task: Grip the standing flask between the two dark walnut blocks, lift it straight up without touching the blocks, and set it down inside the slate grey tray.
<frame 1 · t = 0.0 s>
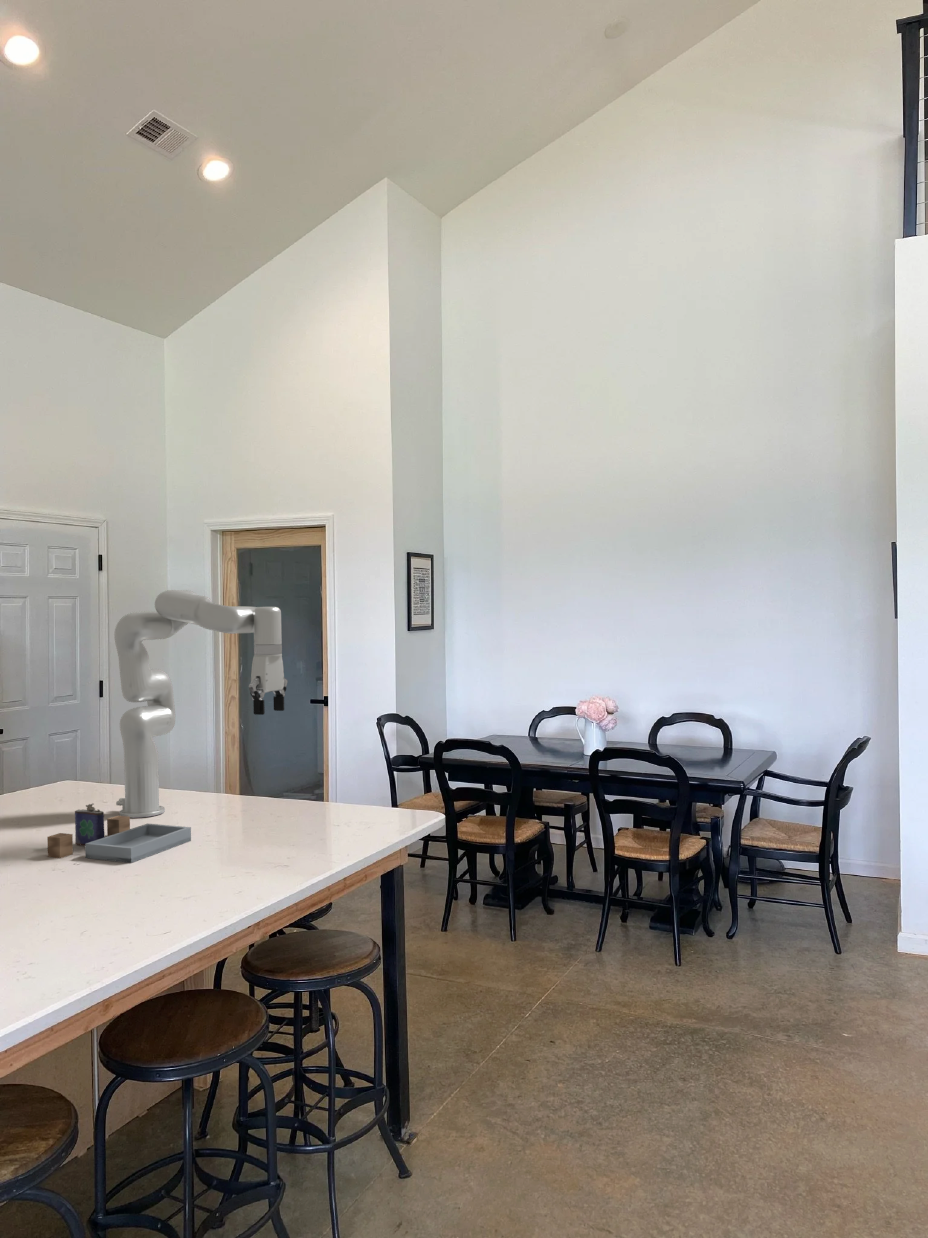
hand: (269, 712, 254), 31 cm above the table, tool pointing down, fingers open, 9 cm apart
tray: (140, 849, 230), on the table
walnut block near: (60, 855, 225), on the table
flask: (90, 846, 235), on the table
walnut block far: (118, 836, 244), on the table
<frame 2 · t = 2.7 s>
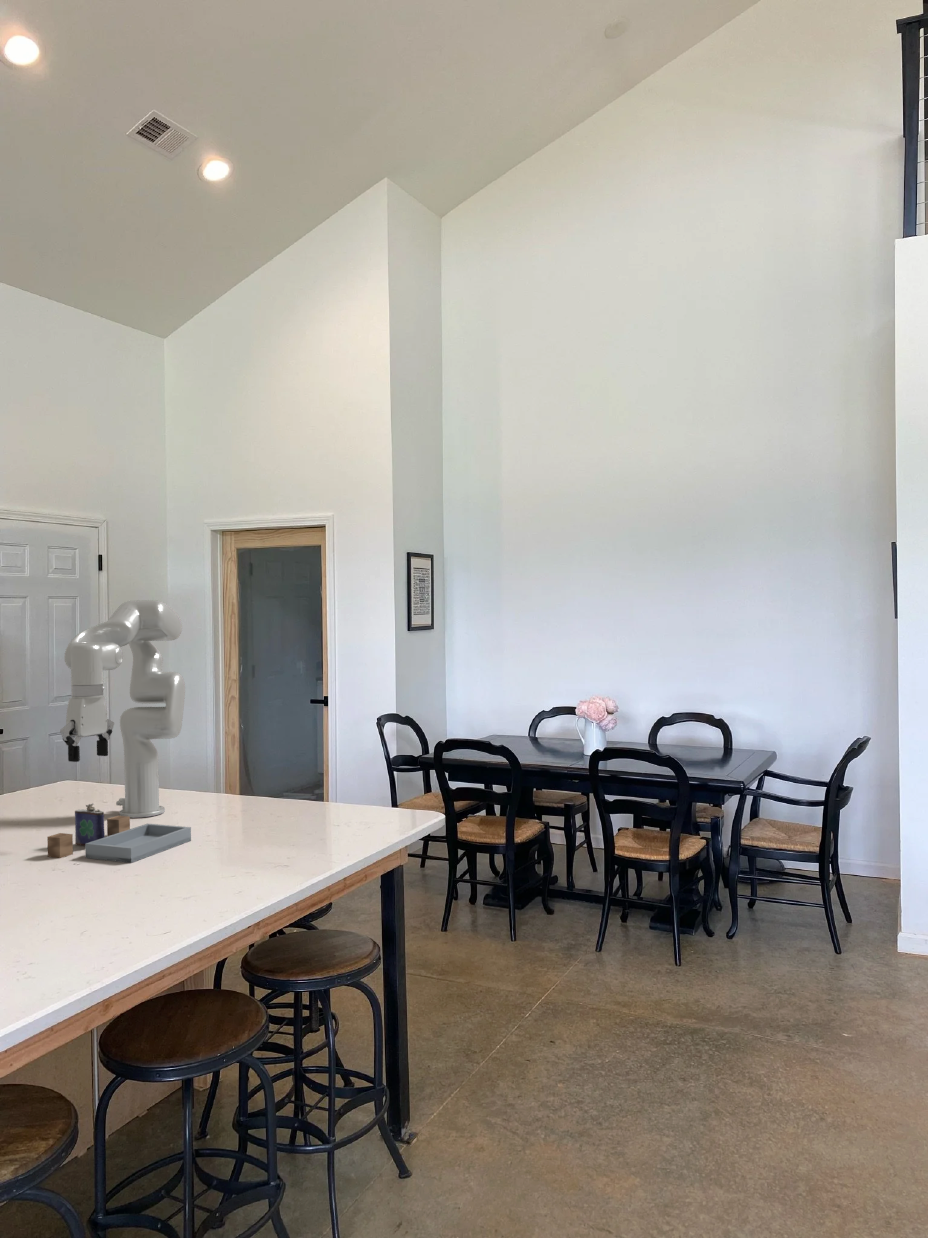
hand: (88, 758, 234), 22 cm above the table, tool pointing down, fingers open, 9 cm apart
nothing on the table moved.
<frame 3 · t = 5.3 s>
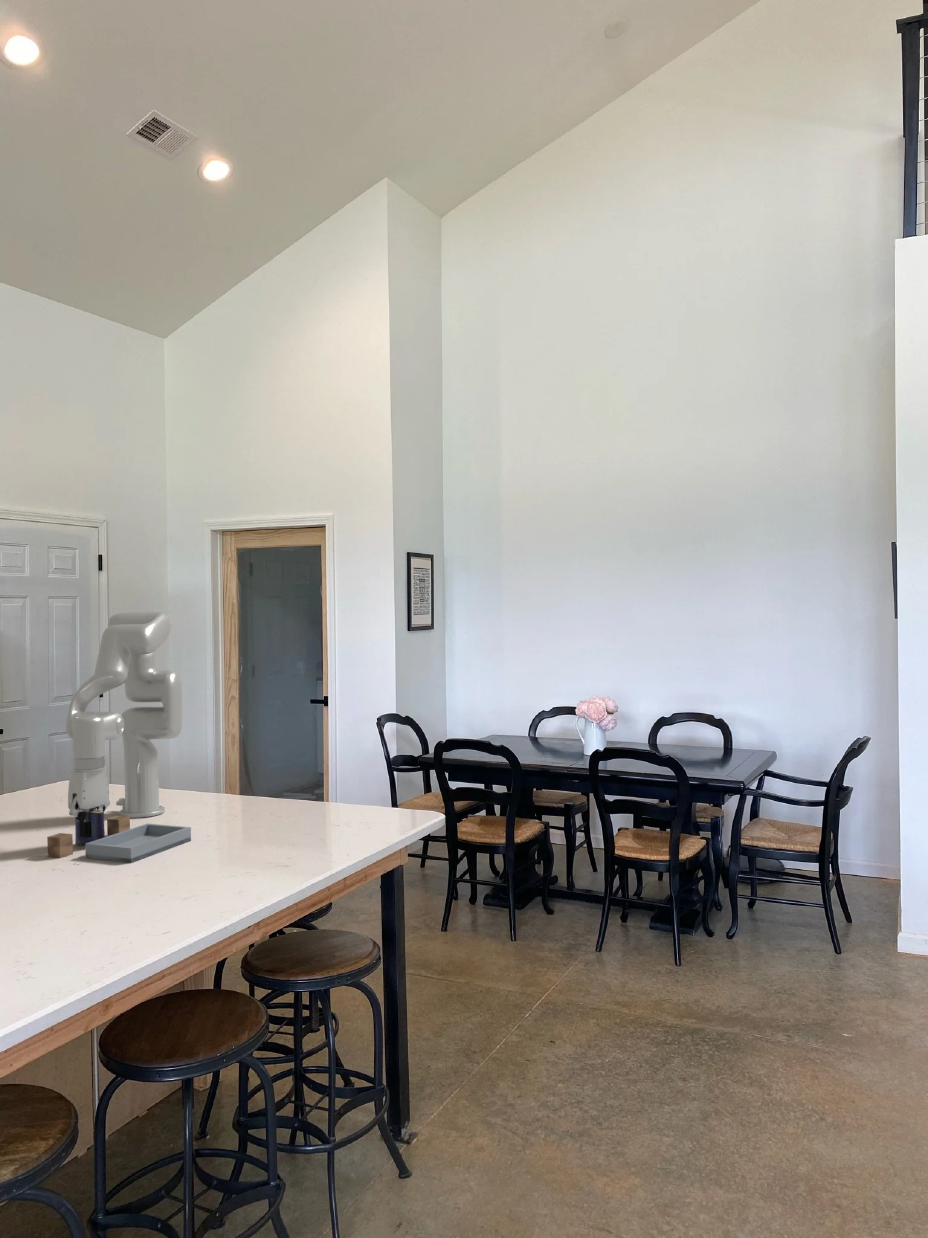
hand: (90, 834, 235), 3 cm above the table, tool pointing down, fingers closed on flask, 2 cm apart
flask: (90, 846, 235), on the table, touching gripper
everything else where it was.
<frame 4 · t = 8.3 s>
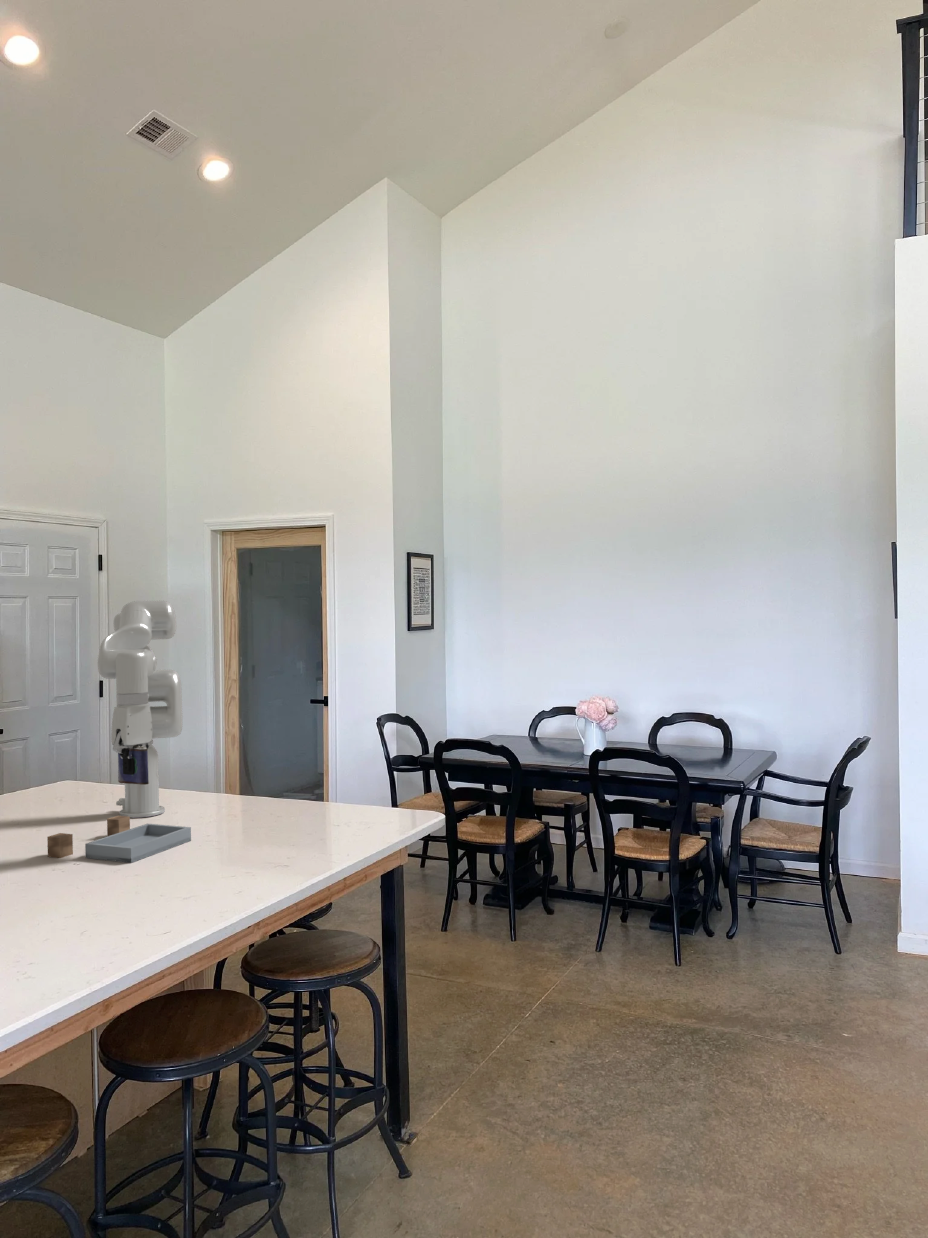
hand: (133, 772, 230), 19 cm above the table, tool pointing down, fingers closed on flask, 2 cm apart
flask: (134, 784, 230), point 16 cm above the table, touching gripper
everything else where it was.
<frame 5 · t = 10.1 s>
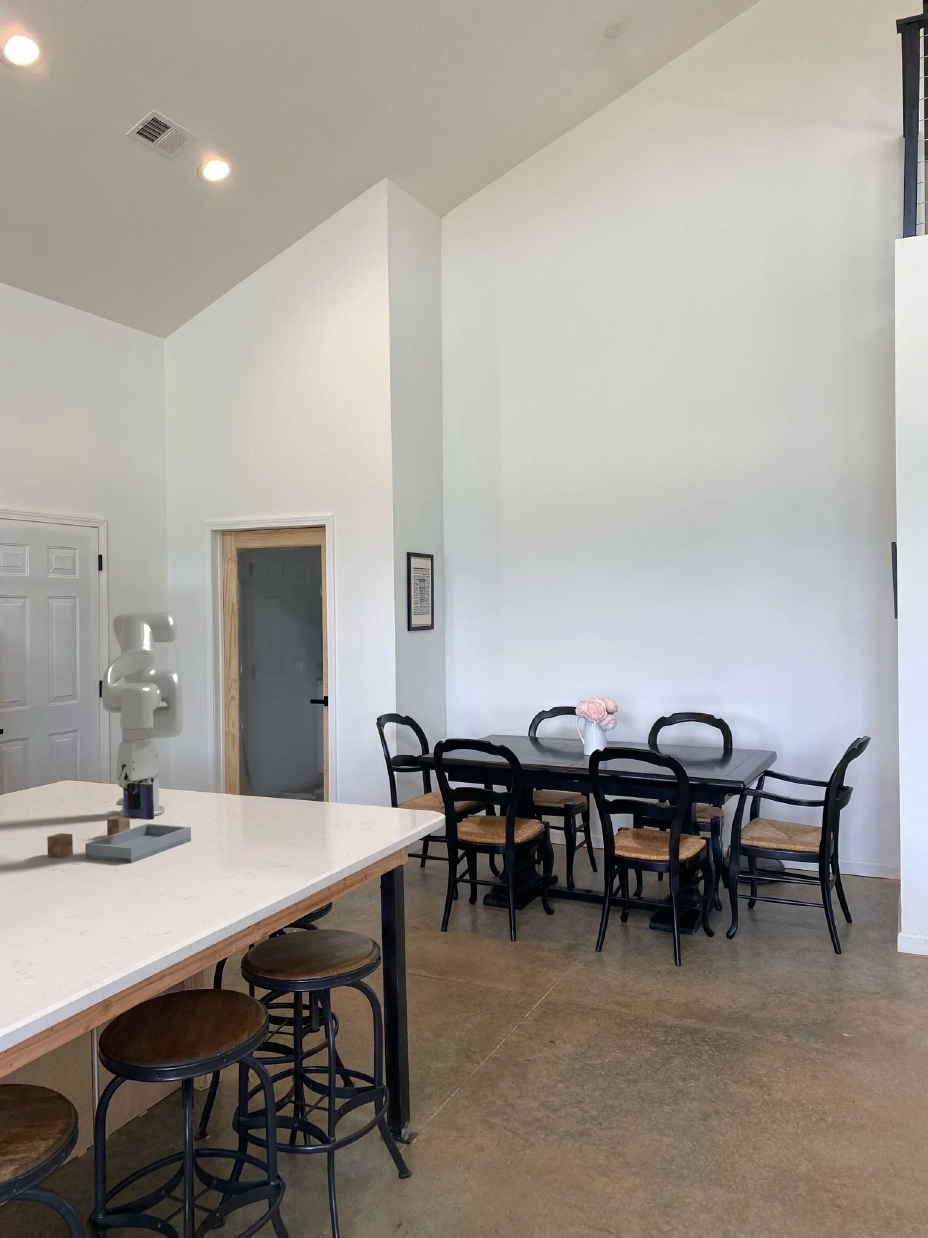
hand: (139, 807, 230), 11 cm above the table, tool pointing down, fingers closed on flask, 2 cm apart
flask: (139, 818, 230), point 8 cm above the table, touching gripper
everything else where it was.
when the fingers open (4 cm above the table, at t = 11.5 s): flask stays where it is, resting on tray.
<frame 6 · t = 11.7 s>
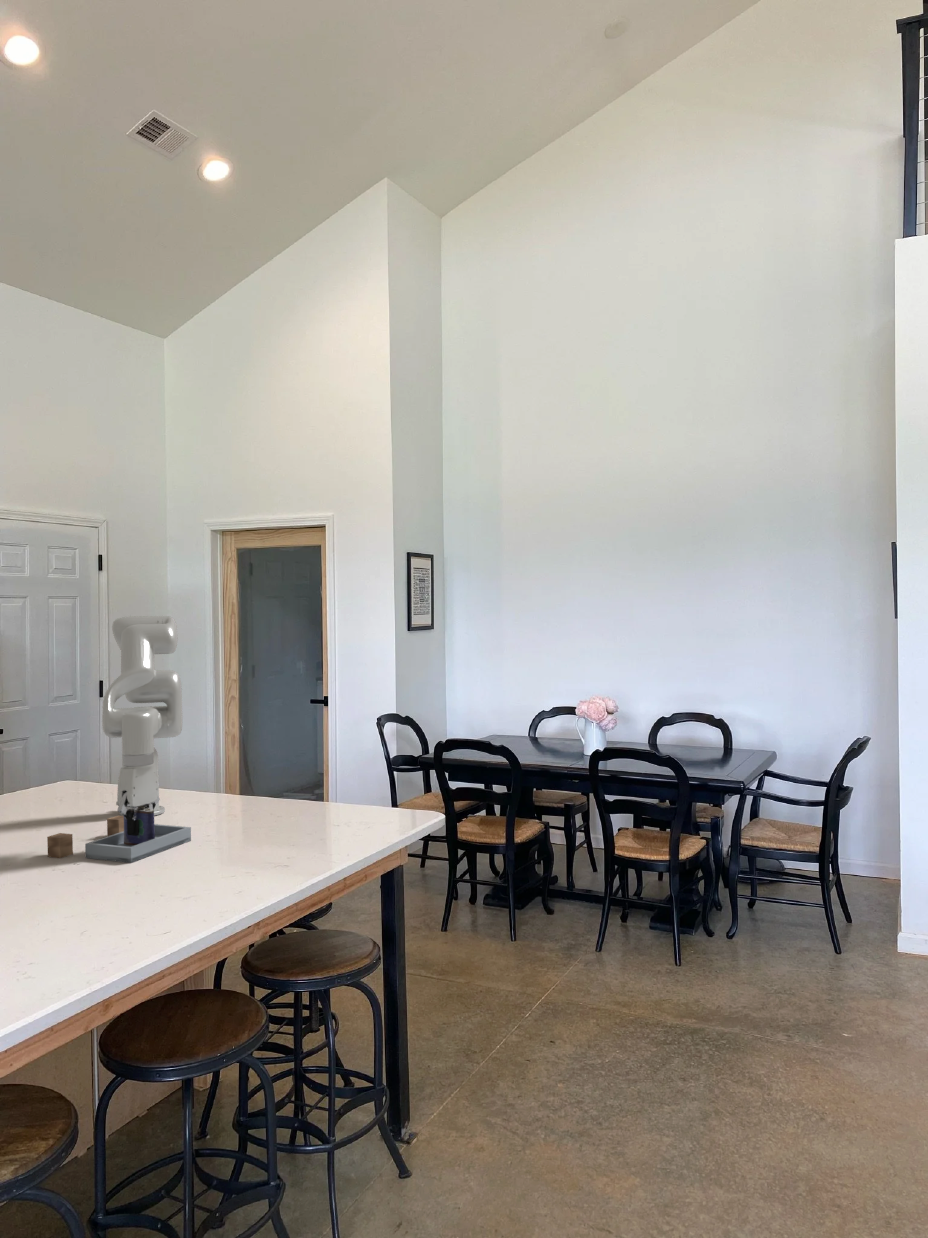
hand: (139, 832, 230), 4 cm above the table, tool pointing down, fingers open, 4 cm apart
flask: (139, 845, 230), point 1 cm above the table, touching tray
everything else where it was.
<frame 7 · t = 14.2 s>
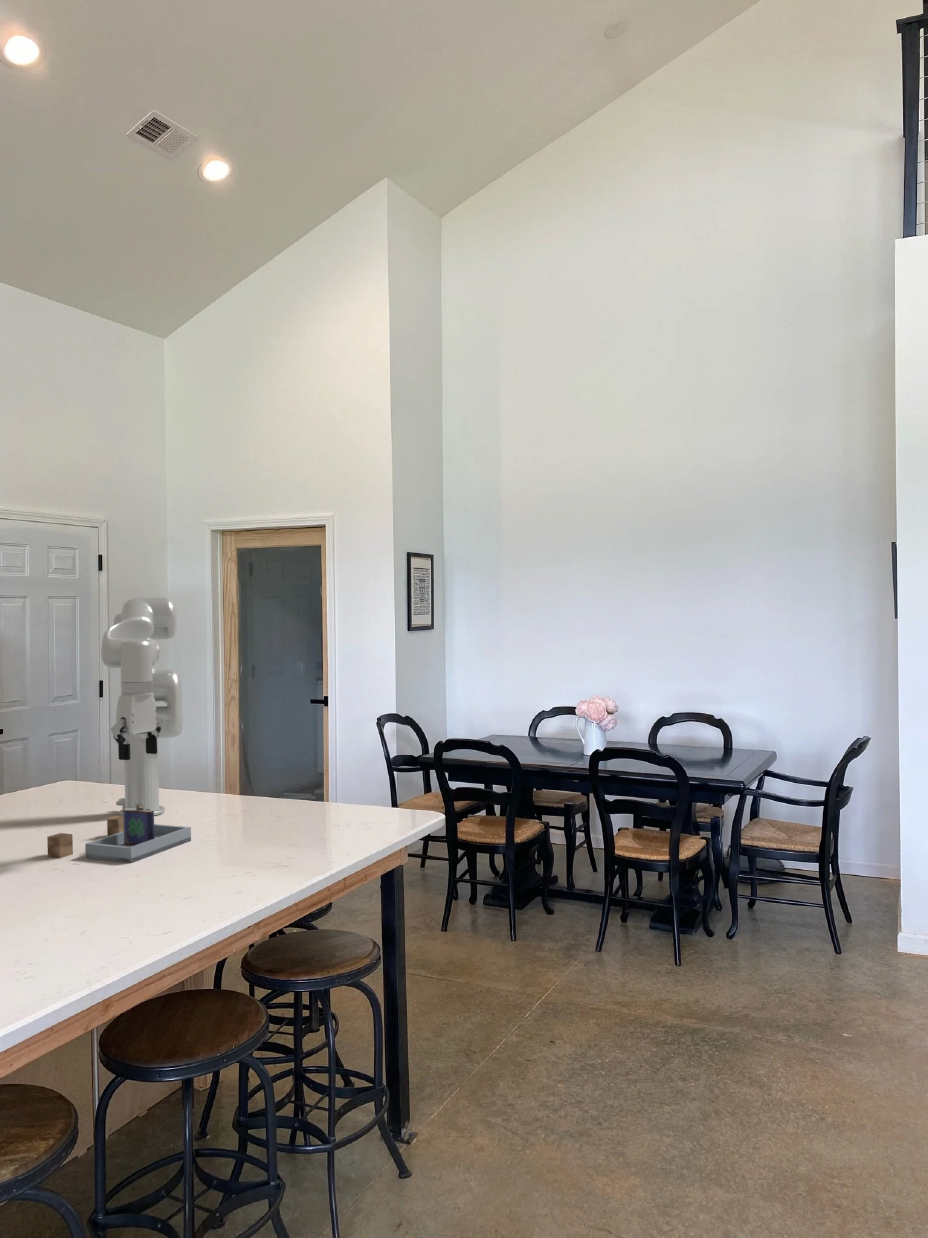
hand: (138, 756, 230), 23 cm above the table, tool pointing down, fingers open, 9 cm apart
nothing on the table moved.
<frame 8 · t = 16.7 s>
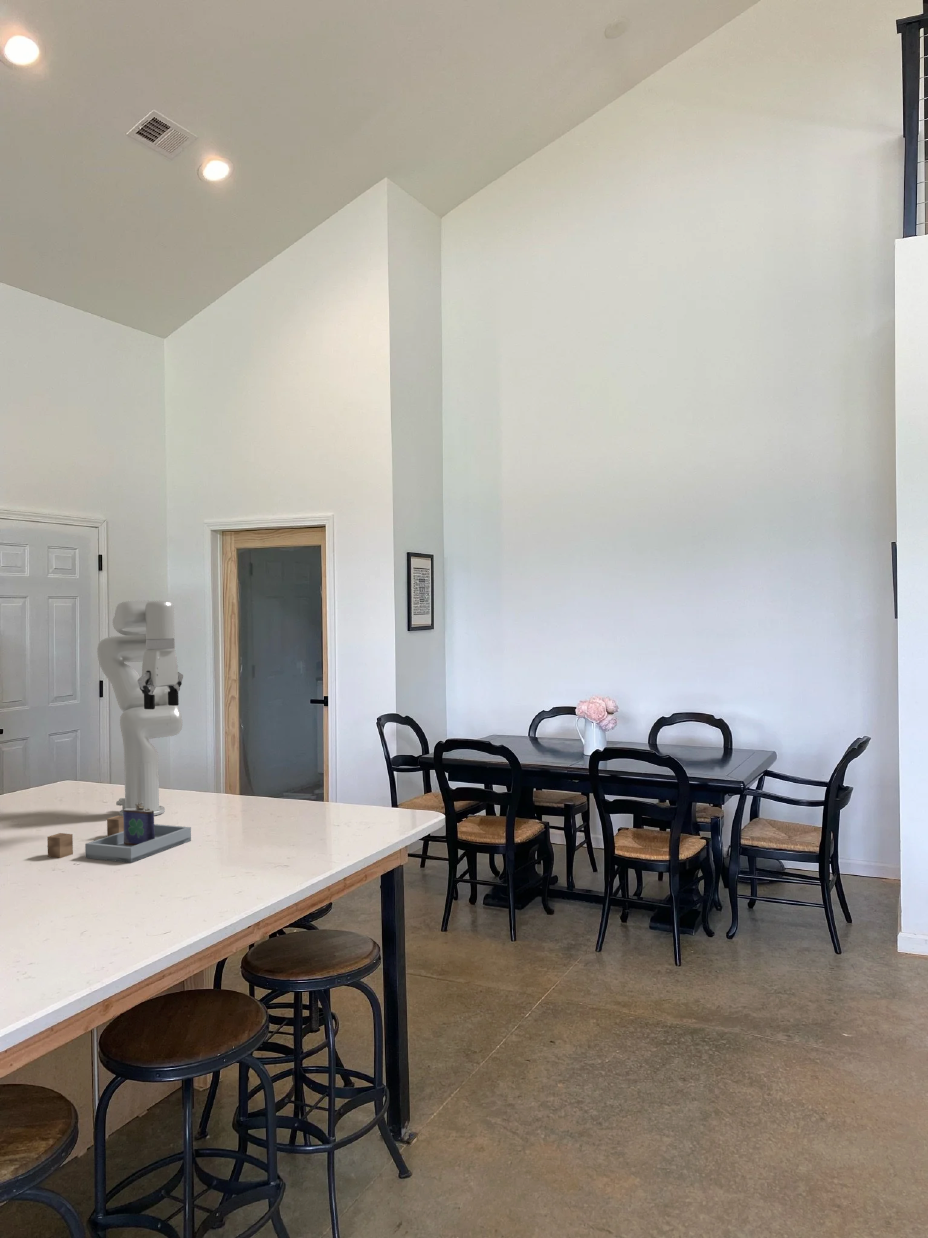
hand: (161, 707, 253), 33 cm above the table, tool pointing down, fingers open, 9 cm apart
nothing on the table moved.
at the end: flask inside the target area on the tray (0.1 cm from its centre), point 0.8 cm above the tray's base; the gripper is holding nothing; walnut block near moved 0.1 cm from its start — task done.
